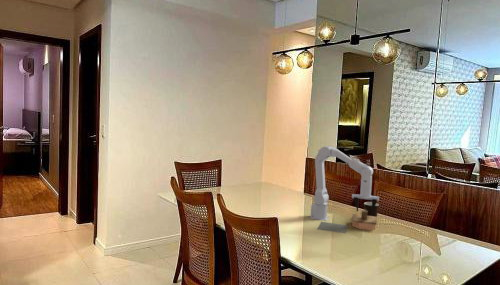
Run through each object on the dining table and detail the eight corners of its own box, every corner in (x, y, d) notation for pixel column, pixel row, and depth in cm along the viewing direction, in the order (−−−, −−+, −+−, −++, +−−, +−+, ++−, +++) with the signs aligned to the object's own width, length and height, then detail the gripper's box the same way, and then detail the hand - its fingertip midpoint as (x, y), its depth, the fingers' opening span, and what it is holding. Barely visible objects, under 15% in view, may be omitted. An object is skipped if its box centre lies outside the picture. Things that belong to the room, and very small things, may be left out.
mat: (316, 230, 192) (316, 229, 192) (321, 222, 207) (321, 221, 206) (345, 234, 187) (345, 233, 187) (347, 226, 201) (347, 225, 201)
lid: (351, 221, 197) (351, 212, 196) (353, 215, 209) (353, 207, 208) (376, 224, 192) (376, 215, 192) (376, 218, 204) (377, 209, 204)
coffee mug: (379, 222, 209) (380, 206, 209) (363, 221, 211) (364, 205, 210) (376, 217, 221) (377, 201, 220) (361, 216, 222) (362, 200, 222)
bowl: (351, 228, 197) (352, 221, 197) (353, 222, 209) (353, 215, 208) (375, 231, 193) (375, 224, 193) (375, 225, 205) (375, 218, 204)
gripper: (352, 188, 198) (350, 212, 199) (379, 190, 193) (378, 215, 194) (352, 185, 205) (351, 208, 206) (379, 188, 200) (378, 212, 201)
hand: (364, 211), depth 200 cm, fingers open, 7 cm apart
